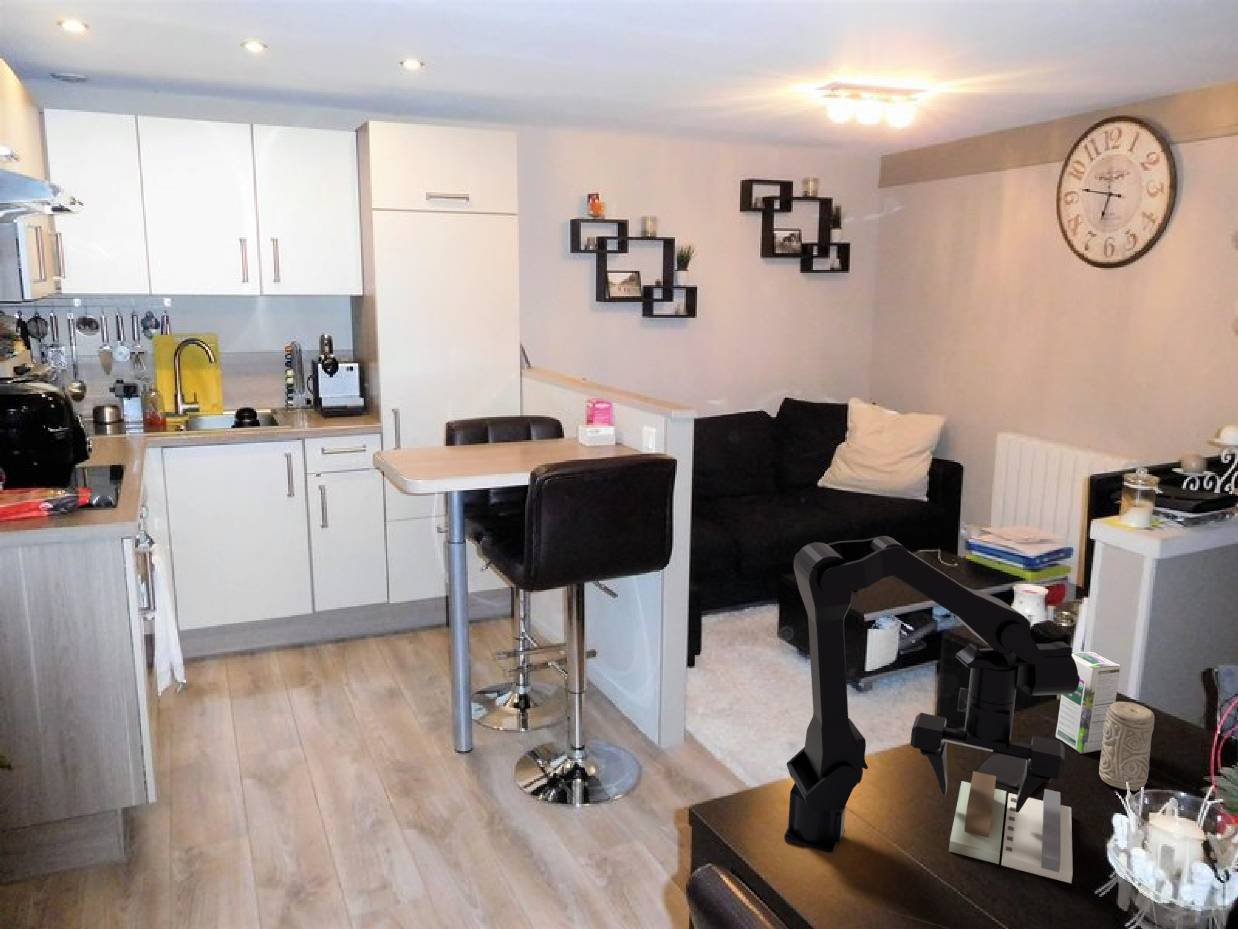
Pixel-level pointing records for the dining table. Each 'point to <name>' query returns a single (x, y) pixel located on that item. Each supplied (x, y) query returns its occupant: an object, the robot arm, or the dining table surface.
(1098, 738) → the syrup box
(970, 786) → the green base with block
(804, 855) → the dining table surface
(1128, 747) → the carving
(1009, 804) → the notched base stand
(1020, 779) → the curved wedge
